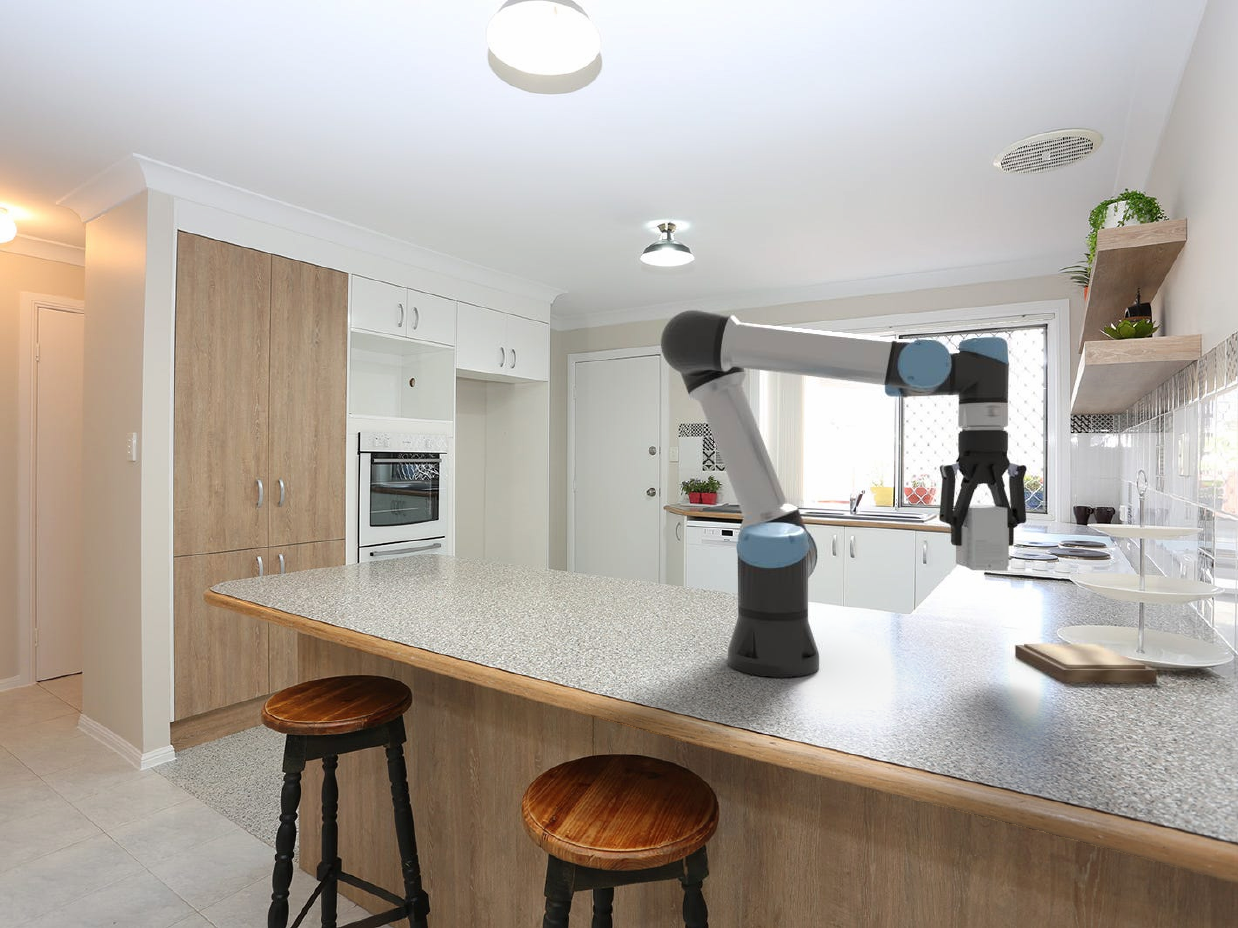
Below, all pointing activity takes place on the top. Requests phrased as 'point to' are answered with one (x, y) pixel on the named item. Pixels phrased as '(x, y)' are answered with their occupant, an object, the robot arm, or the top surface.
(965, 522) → the small box
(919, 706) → the top surface
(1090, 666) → the stand
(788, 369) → the robot arm
